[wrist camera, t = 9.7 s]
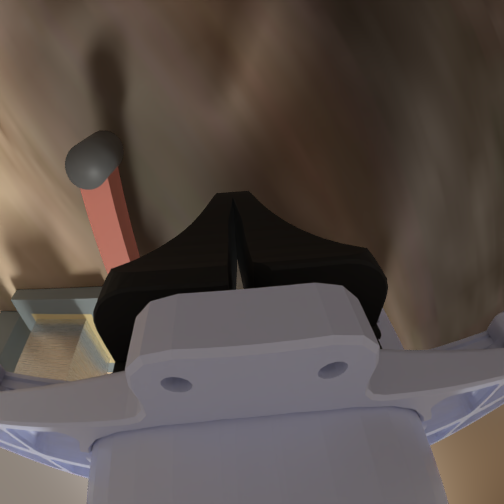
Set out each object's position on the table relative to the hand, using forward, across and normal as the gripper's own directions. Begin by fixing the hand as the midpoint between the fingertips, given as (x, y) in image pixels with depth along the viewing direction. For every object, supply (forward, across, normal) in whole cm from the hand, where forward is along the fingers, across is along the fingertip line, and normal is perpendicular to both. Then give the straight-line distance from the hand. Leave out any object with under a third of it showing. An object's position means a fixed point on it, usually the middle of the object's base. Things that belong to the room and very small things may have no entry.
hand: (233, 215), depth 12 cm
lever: (+2, +6, +3) cm, 7 cm away
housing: (+3, +14, +12) cm, 18 cm away
